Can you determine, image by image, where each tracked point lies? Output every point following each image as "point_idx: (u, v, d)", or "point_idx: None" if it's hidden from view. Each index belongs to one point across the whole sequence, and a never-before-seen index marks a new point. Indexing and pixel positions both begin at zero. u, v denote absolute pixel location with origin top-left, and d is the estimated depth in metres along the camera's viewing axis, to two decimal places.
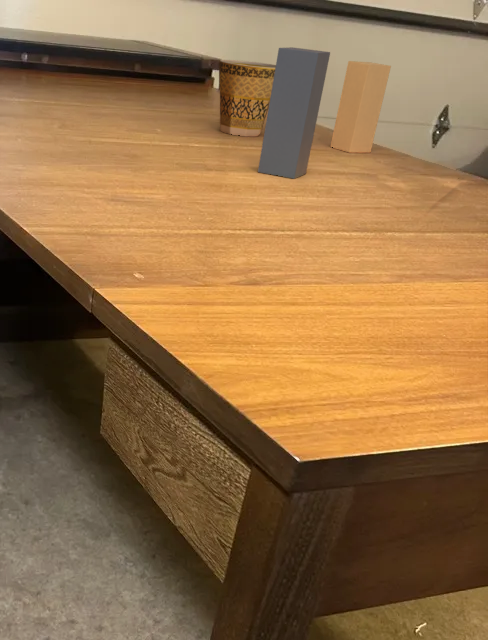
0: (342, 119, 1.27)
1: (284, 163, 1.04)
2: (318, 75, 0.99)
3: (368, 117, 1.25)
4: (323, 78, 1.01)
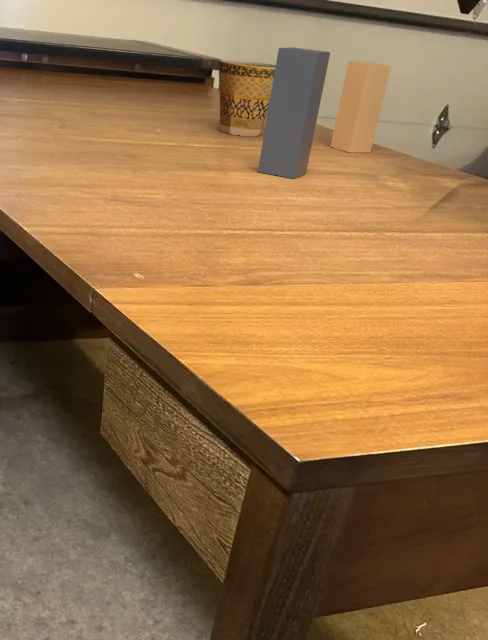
0: (342, 119, 1.27)
1: (284, 163, 1.04)
2: (318, 75, 0.99)
3: (368, 117, 1.25)
4: (323, 78, 1.01)
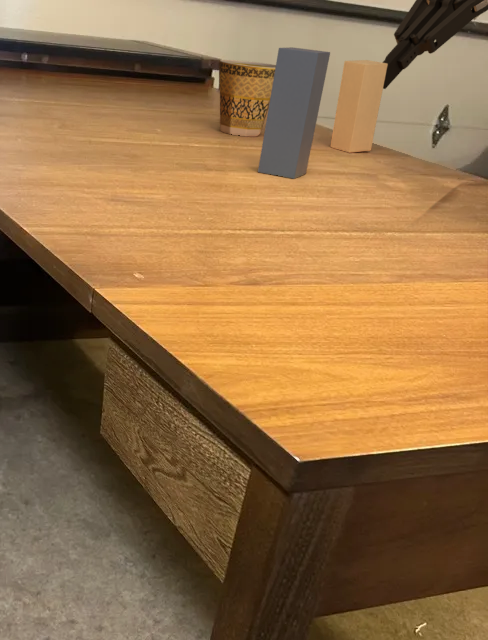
0: (341, 119, 1.27)
1: (284, 163, 1.04)
2: (318, 75, 0.99)
3: (367, 116, 1.25)
4: (323, 78, 1.01)
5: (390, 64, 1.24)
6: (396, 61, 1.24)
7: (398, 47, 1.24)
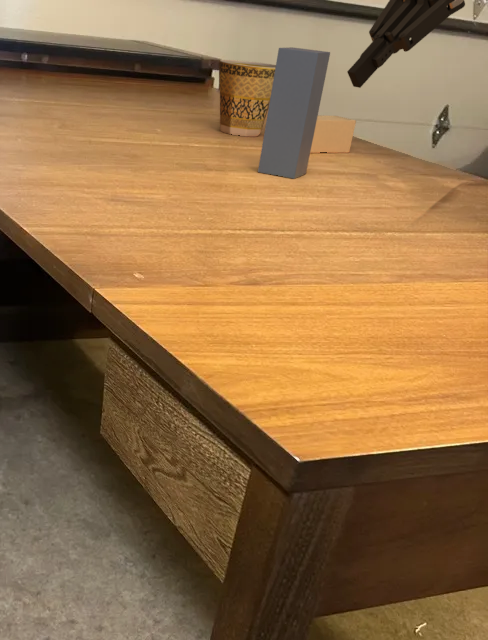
0: None
1: (284, 163, 1.04)
2: (318, 75, 0.99)
3: (328, 136, 1.23)
4: (323, 78, 1.01)
5: (365, 62, 1.22)
6: (371, 59, 1.22)
7: (373, 45, 1.22)
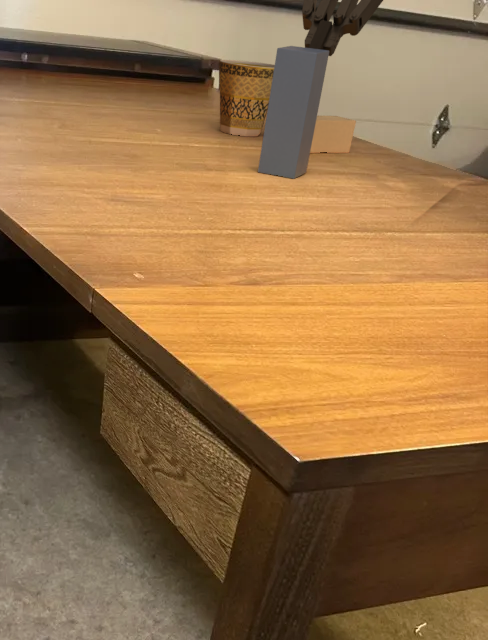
0: None
1: (283, 163, 1.04)
2: (317, 74, 0.99)
3: (328, 136, 1.23)
4: (322, 77, 1.01)
5: None
6: (323, 46, 1.03)
7: (320, 29, 1.03)
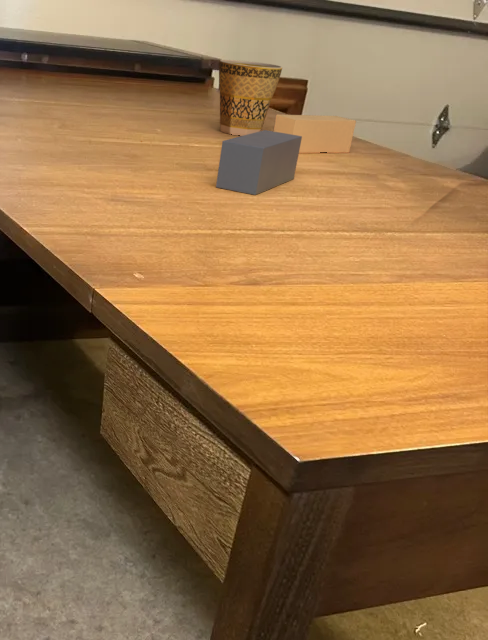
0: None
1: None
2: (265, 176, 0.95)
3: (328, 136, 1.23)
4: (270, 152, 0.94)
5: None
6: None
7: None
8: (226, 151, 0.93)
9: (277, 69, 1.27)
